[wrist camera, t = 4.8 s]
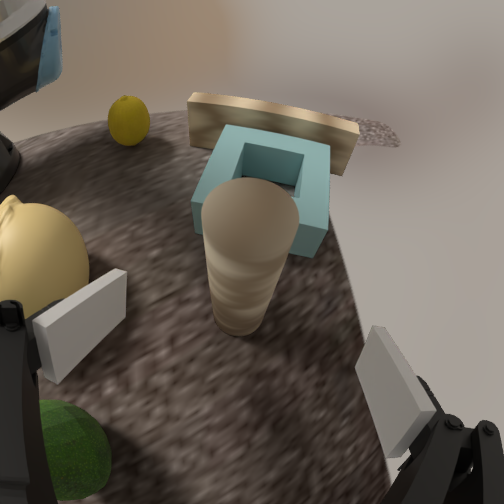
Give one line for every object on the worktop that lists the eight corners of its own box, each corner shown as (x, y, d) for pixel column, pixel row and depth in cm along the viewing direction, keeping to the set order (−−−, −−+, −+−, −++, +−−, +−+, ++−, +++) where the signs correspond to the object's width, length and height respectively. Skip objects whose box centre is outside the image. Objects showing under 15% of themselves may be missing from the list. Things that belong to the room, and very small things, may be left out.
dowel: (207, 330, 24) (188, 243, 12) (219, 284, 26) (216, 170, 14) (258, 341, 24) (293, 265, 12) (267, 294, 26) (303, 188, 14)
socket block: (195, 233, 29) (190, 201, 24) (225, 156, 35) (225, 124, 30) (312, 258, 28) (328, 229, 24) (319, 175, 34) (330, 145, 30)
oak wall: (190, 145, 35) (187, 101, 29) (196, 135, 36) (194, 92, 30) (341, 176, 35) (359, 134, 29) (341, 164, 36) (357, 123, 30)
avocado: (40, 440, 16) (-50, 437, 6) (78, 386, 20) (-12, 359, 9) (103, 500, 14) (29, 542, 4) (146, 446, 18) (79, 475, 8)
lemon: (133, 162, 33) (120, 111, 26) (108, 150, 34) (93, 103, 27) (161, 139, 36) (154, 90, 29) (135, 129, 37) (126, 83, 30)
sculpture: (23, 247, 26) (-25, 189, 16) (106, 236, 28) (68, 162, 18) (8, 341, 20) (-61, 302, 11) (99, 344, 22) (33, 300, 13)
